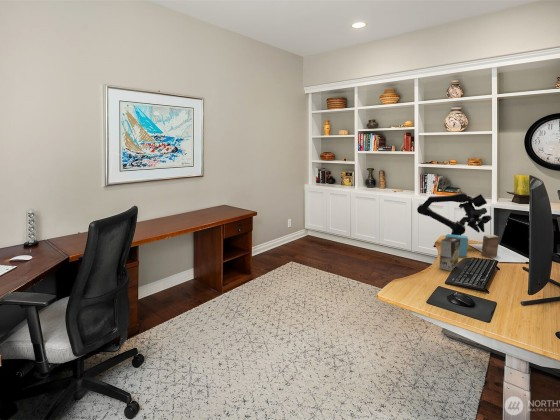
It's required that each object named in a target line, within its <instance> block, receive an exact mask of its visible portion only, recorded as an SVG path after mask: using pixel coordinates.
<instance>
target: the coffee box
mask: <svg viewBox="0 0 560 420" xmlns="http://www.w3.org/2000/svg"><path fill="white" fill-rule="evenodd" d="M440 243H441V245H440V254H439V255H440V256H439V266H438V269H441V270H444V271H449V272H451V271H453V270H455V269H456V268H455V267H456V266H457V265H459V258H460V257H459V248H460V239H458V238H453V237H447V238H445V237H444V238H443V239H441V242H440ZM454 268H455V269H454Z"/></svg>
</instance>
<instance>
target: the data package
mask: <svg viewBox="0 0 560 420" xmlns="http://www.w3.org/2000/svg"><path fill="white" fill-rule="evenodd" d="M447 237H453V238H458V239H460V248H459V258H466V257H467V255H468V246H469V245H468V244H469V238H468V236H466V235H463V234H462V235H451V234H446V235H445V236H444V239H445V238H447Z"/></svg>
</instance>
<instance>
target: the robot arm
mask: <svg viewBox="0 0 560 420" xmlns="http://www.w3.org/2000/svg"><path fill="white" fill-rule="evenodd" d="M448 202H449V203H450V202H453V203H454V202H455V203H459V205H458V208H459V209H463V211H464V213H465V216H463V217H462V218H461V219H460V220H456V221H453V220H450V219H449V218H447V217H445V216H443V215H441V214H439V213H437V212H436V211H433V210H432V209H431V208H430V207H429V206H431V205H432V204H433V203H448ZM487 204H488V202H487V200H486V198H485V197H484V196H483V194H482V193H480V194H478V195H476V196H474V197H472V196H470V195H468V194H467V193H466V192H459V193H455V194H452V195H451V194H450V195H449V194H448V195H437V196H436V195H435V196H428V197H427V199H426V201H424V203H421V204H420V205H418V206H417V209H416V211H417V213H418V214H420V215H423V216H426V217H430V218H431V219H433V220H435V221H437V222H439V223H441V224H442V225H445V226H447V227H449V228H450V229H451V235H462V236H463V235H464V234H465V233H466V226H467V227H470V228H471V229H473V230H474V231H475V232H476V233H481V232H482V233H484V232H485V224H487V223H488V222H490V221H491V220H492V219H493V218H492V216H491V215H486V214H487V213H488V210H487V208H486V207H482V206H484V205H487ZM476 207H477V208H478V209H477V208H476ZM480 207H482V208H480ZM482 215H483V216H482ZM466 223H467V224H466ZM465 225H466V226H465ZM480 231H481V232H480Z"/></svg>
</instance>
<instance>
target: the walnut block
mask: <svg viewBox="0 0 560 420" xmlns="http://www.w3.org/2000/svg"><path fill="white" fill-rule="evenodd" d="M482 237H483V238H482V246H481V256H482V257H485V258H496V256H498V251H499V243H500V242H499V241H500V236H498V235H495V234H490V235H489V234H488V235H483V236H482Z"/></svg>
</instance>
